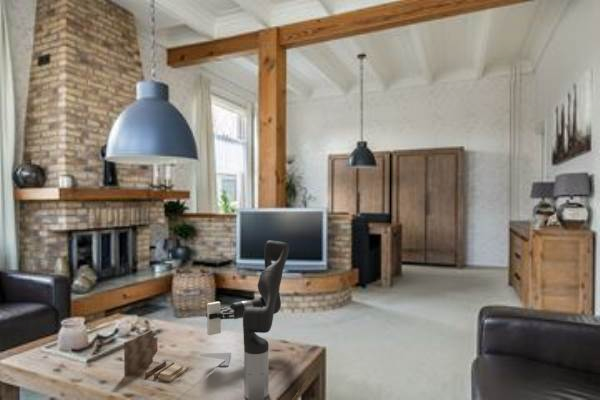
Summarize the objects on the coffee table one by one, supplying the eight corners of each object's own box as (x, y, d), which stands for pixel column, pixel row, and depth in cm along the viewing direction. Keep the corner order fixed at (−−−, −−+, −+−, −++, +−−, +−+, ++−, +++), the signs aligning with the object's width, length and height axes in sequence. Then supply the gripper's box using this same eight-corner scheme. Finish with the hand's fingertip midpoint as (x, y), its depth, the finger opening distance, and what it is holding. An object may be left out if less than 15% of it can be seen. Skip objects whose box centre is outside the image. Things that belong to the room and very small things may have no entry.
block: (218, 331, 187) (218, 301, 187) (220, 332, 185) (220, 302, 185) (207, 333, 184) (207, 303, 184) (209, 335, 182) (209, 304, 182)
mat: (228, 366, 178) (228, 365, 178) (195, 367, 177) (195, 366, 177) (230, 354, 192) (230, 352, 192) (200, 355, 191) (200, 353, 191)
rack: (150, 362, 182) (150, 329, 182) (194, 370, 175) (194, 335, 175) (124, 378, 167) (124, 342, 167) (171, 387, 160) (170, 349, 159)
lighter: (139, 355, 190) (139, 334, 190) (140, 353, 194) (140, 332, 193) (157, 354, 192) (157, 333, 192) (158, 351, 196) (158, 330, 196)
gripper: (235, 298, 198) (201, 304, 188) (248, 304, 187) (214, 311, 177) (235, 313, 199) (201, 320, 188) (249, 321, 187) (214, 328, 177)
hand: (207, 316), depth 183 cm, fingers closed on block, 2 cm apart
